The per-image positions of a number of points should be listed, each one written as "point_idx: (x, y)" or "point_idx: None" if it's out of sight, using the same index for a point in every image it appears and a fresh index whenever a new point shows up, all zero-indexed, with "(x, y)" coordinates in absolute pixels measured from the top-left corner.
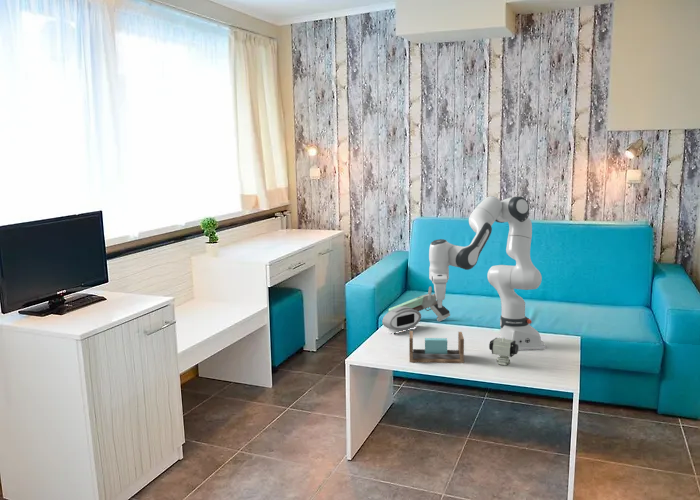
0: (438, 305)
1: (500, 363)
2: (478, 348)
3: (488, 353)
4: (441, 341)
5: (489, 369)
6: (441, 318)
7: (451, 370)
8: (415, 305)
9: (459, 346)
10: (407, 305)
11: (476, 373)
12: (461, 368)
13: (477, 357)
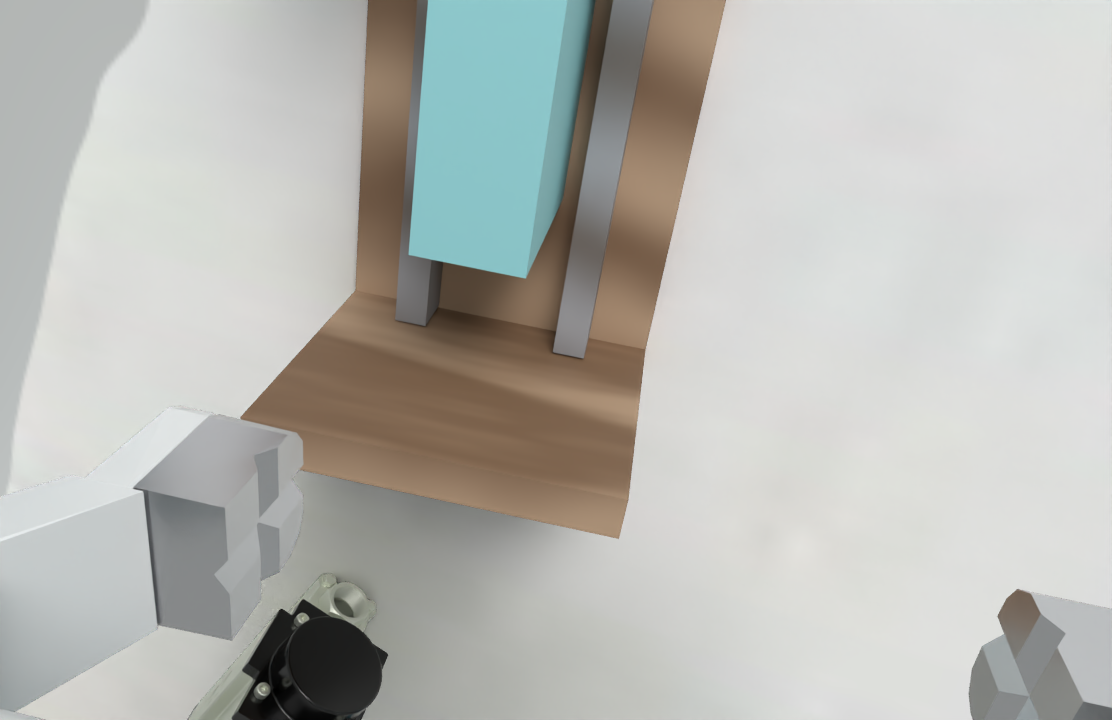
0: (131, 453)
1: (311, 589)
2: (818, 580)
3: (641, 604)
4: (419, 162)
5: None
6: None
7: (128, 129)
8: None
9: (443, 374)
10: None
11: (82, 338)
12: (201, 246)
13: None
